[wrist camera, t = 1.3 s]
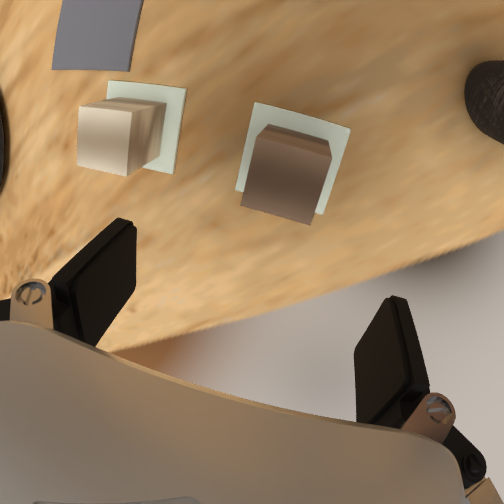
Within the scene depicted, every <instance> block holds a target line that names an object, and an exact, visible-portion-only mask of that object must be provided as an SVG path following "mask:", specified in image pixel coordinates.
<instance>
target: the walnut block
mask: <svg viewBox="0 0 504 504" xmlns="http://www.w3.org/2000/svg"><path fill="white" fill-rule="evenodd" d="M331 161H332V154H331V150H330V146H329V141H328V140H325V139H321V138H318V137H315V136H311V135H308V134H305V133H301V132H298V131H294V130H290V129H287V128H283V127H279V126H275V125H271V124H268V125H267V126H266V127H265V128H264V129H263V130H262V131H261V132H260V133H259V134H258V135H257V136H256V140H255V144H254V148H253V153H252V157H251V161H250V166H249V170H248V174H247V179H246V183H245V187H244V192H243V196H242V201H241V205H240V206H244V207H247V208H251V209H255V210H258V211H262V212H265V213H269V214H272V215H276V216H279V217H283V218H286V219H290V220H293V221H297V222H300V223H304V224H307V225H311V222H312V219H313V216H314V213H315V210H316V207H317V204H318V201H319V198H320V195H321V192H322V189H323V186H324V183H325V180H326V177H327V174H328V170H329V167H330V164H331Z"/></svg>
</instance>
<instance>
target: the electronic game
mask: <svg viewBox="0 0 504 504" xmlns="http://www.w3.org/2000/svg"><path fill="white" fill-rule="evenodd" d="M3 162H4V133H3V124H2V117H1V112H0V185H1V180H2V174H3Z"/></svg>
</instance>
